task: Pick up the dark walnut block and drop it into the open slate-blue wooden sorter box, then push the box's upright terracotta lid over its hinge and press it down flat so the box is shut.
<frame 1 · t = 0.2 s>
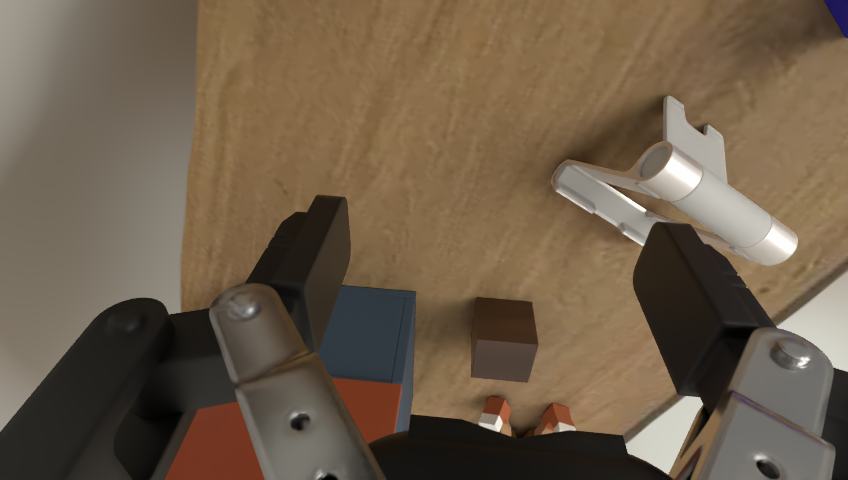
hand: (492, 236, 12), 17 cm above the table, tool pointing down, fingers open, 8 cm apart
character figurine: (504, 441, 49), on the table
tablet stand: (642, 162, 29), on the table
sorter box: (340, 343, 42), on the table
walnut block: (500, 318, 38), on the table
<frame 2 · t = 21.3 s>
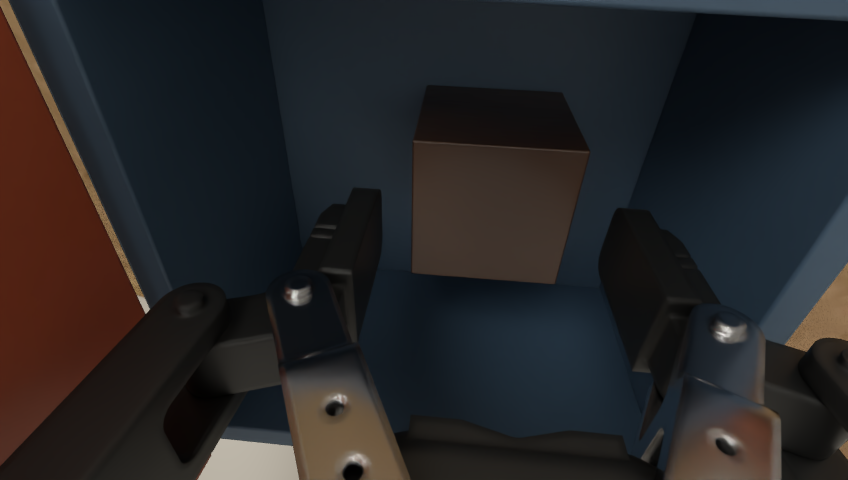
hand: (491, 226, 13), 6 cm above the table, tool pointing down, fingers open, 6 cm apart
sorter box: (460, 140, 17), on the table
walnut block: (486, 150, 16), point 1 cm above the table, touching sorter box
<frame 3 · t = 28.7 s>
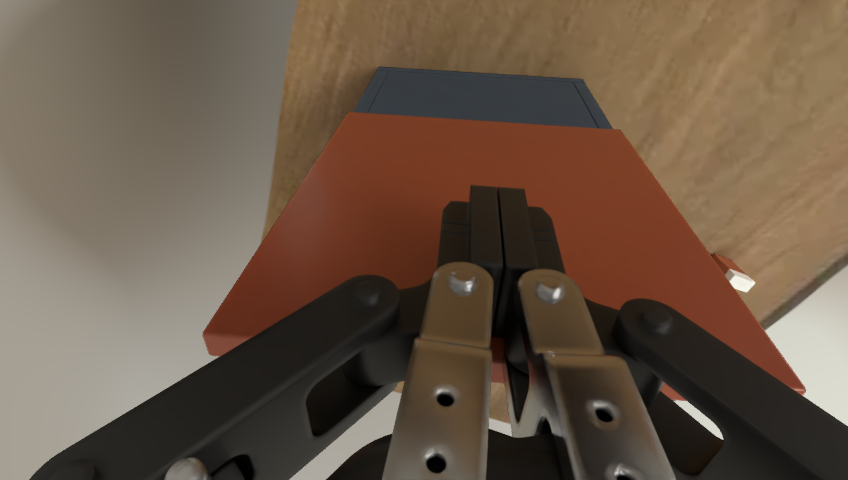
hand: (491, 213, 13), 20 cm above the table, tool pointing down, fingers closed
character figurine: (637, 316, 42), on the table
sorter box: (469, 170, 35), on the table
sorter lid: (484, 204, 17), point 17 cm above the table, hinge at 91.6°, touching gripper, hand
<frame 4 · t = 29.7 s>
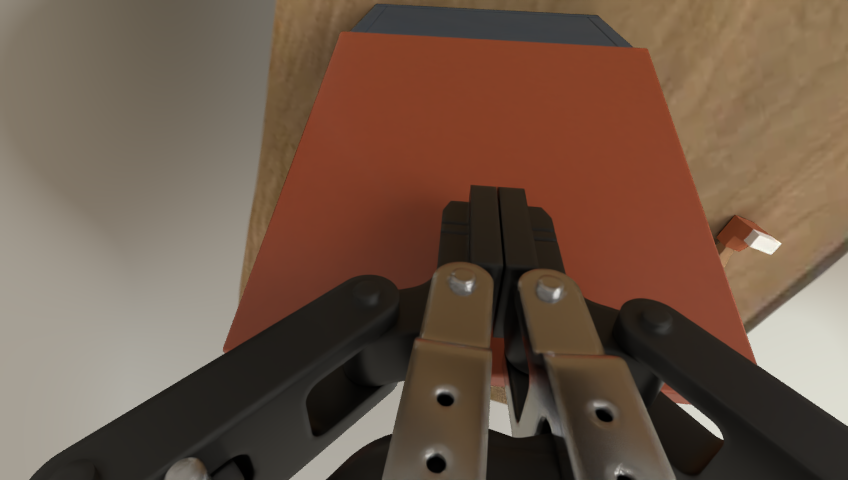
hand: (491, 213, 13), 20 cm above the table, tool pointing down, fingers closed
character figurine: (651, 286, 40), on the table
sorter box: (474, 122, 32), on the table
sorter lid: (488, 167, 16), point 16 cm above the table, hinge at 72.3°, touching gripper
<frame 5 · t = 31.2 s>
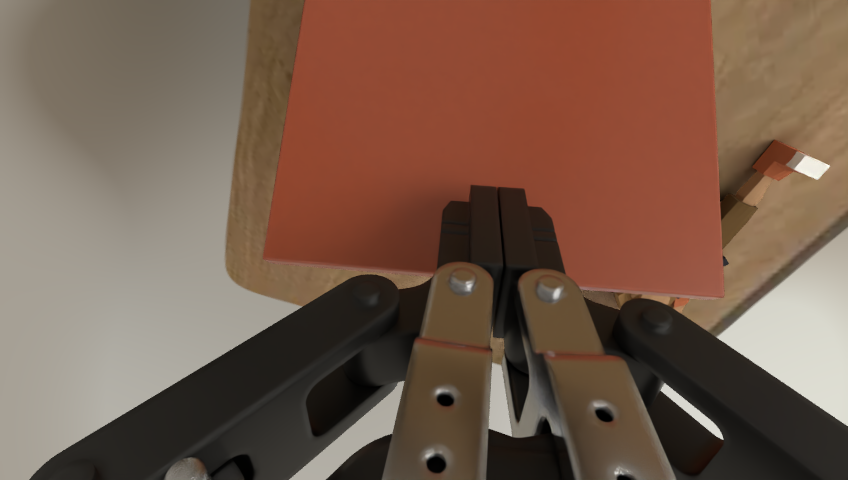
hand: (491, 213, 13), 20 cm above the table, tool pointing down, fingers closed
character figurine: (677, 229, 36), on the table
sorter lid: (499, 55, 15), point 15 cm above the table, hinge at 48.6°, touching gripper
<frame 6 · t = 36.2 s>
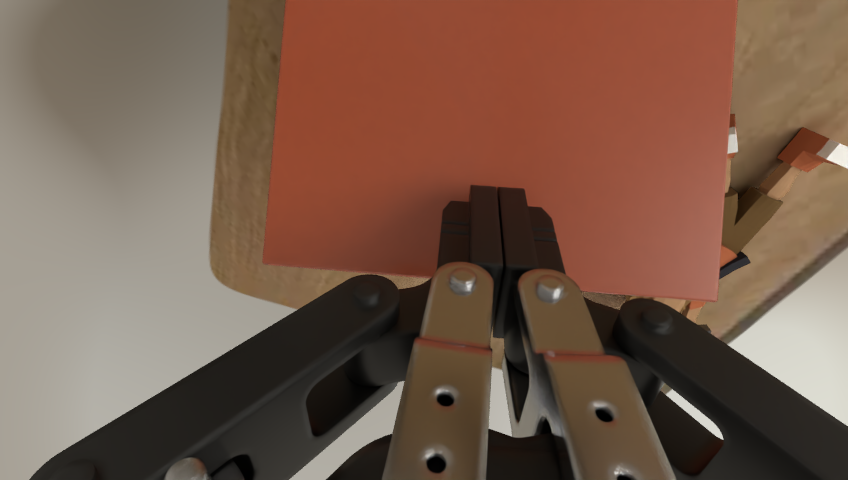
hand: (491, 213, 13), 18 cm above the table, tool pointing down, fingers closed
character figurine: (693, 225, 34), on the table
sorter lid: (502, 37, 14), point 14 cm above the table, hinge at 38.0°
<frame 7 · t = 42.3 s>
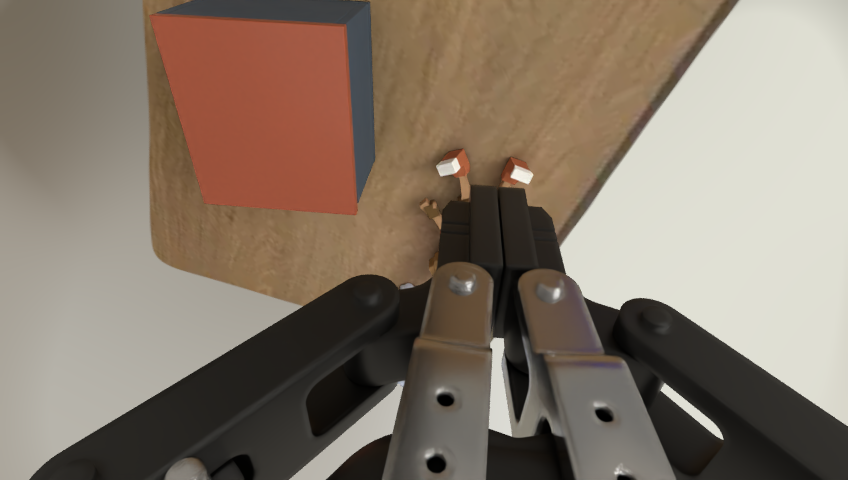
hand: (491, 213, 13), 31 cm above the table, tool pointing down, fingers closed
character figurine: (467, 219, 50), on the table
sorter box: (301, 84, 43), on the table
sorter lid: (266, 125, 36), point 9 cm above the table, hinge at 0.4°
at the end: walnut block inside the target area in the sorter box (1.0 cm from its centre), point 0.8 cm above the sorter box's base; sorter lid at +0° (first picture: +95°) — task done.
